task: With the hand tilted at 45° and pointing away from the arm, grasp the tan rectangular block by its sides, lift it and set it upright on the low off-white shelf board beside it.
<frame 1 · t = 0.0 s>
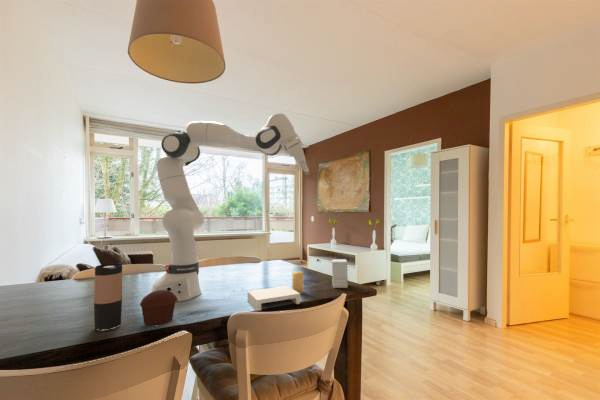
hand: (307, 172, 126), 54 cm above the table, tool tilted 30°, fingers open, 8 cm apart
shelf board: (273, 302, 116), on the table
travel mug: (108, 327, 93), on the table
muffin: (159, 321, 97), on the table
supplement box: (339, 286, 140), on the table
tan rectangular block: (297, 292, 130), on the table
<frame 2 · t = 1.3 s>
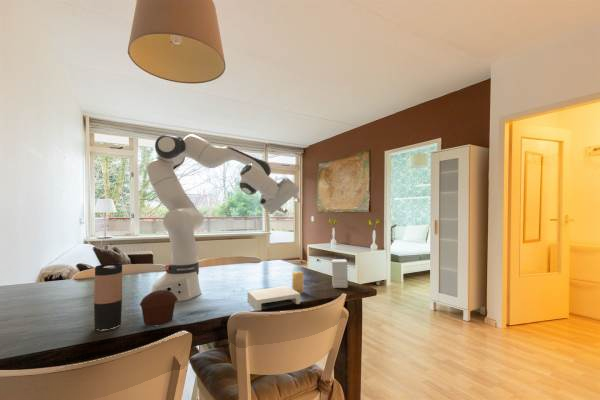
hand: (292, 206, 138), 39 cm above the table, tool tilted 55°, fingers open, 8 cm apart
nothing on the table moved.
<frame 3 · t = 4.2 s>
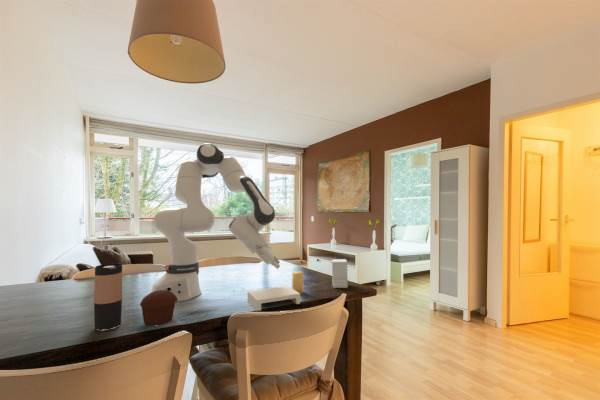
hand: (278, 265, 131), 12 cm above the table, tool tilted 45°, fingers open, 8 cm apart
nothing on the table moved.
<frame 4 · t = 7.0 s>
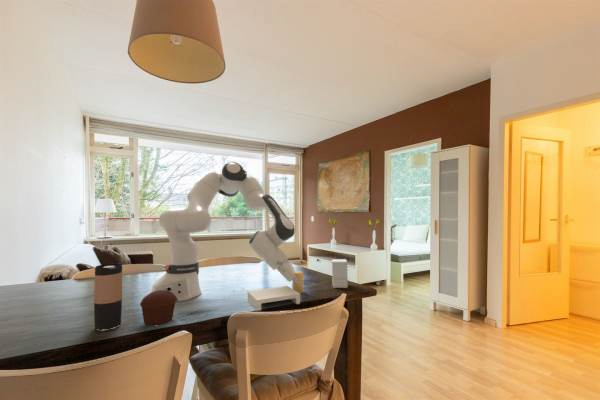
hand: (299, 281, 130), 5 cm above the table, tool tilted 45°, fingers closed on tan rectangular block, 5 cm apart
tan rectangular block: (297, 292, 130), on the table, touching gripper
everything else where it was.
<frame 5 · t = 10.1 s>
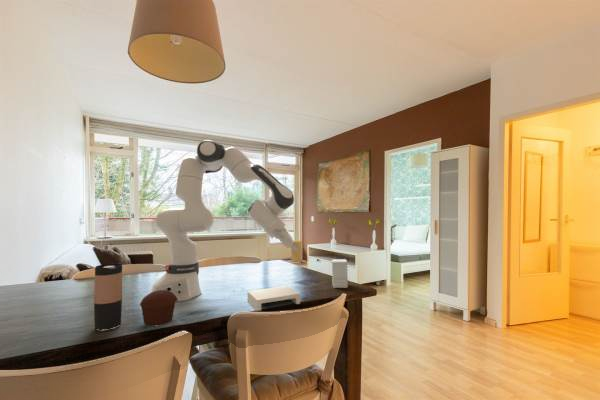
hand: (297, 250, 129), 19 cm above the table, tool tilted 45°, fingers closed on tan rectangular block, 5 cm apart
tan rectangular block: (296, 261, 129), point 14 cm above the table, touching gripper
everything else where it was.
when the fingers open (10 cm above the table, at t = 13.7 s): tan rectangular block drops 1 cm, resting on shelf board.
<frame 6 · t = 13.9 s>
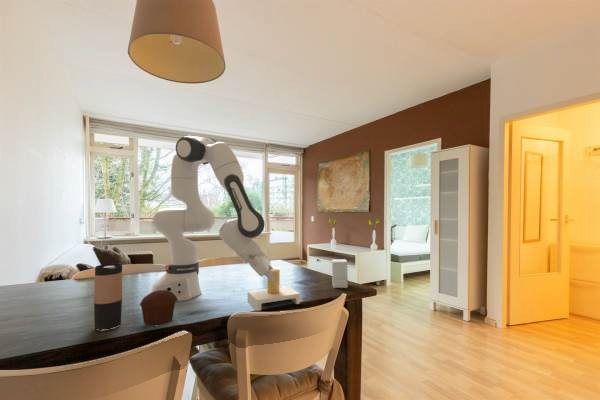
hand: (274, 276, 116), 10 cm above the table, tool tilted 45°, fingers open, 7 cm apart
tan rectangular block: (273, 292, 116), point 4 cm above the table, touching shelf board
everything else where it was.
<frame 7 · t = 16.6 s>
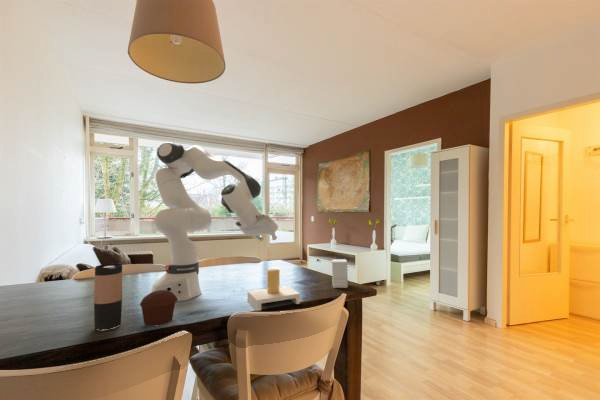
hand: (268, 239, 127), 24 cm above the table, tool tilted 40°, fingers open, 8 cm apart
nothing on the table moved.
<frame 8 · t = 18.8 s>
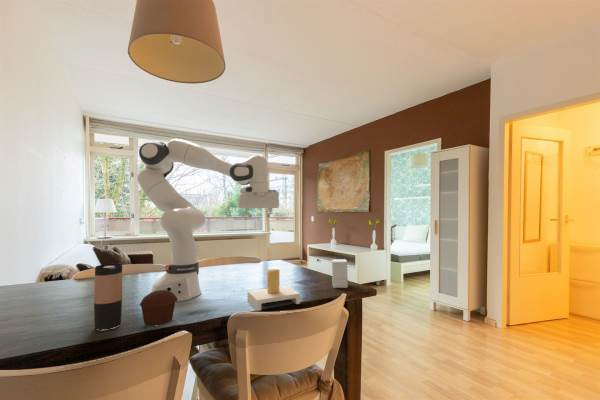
hand: (259, 217, 137), 34 cm above the table, tool pointing down, fingers open, 8 cm apart
nothing on the table moved.
at the end: tan rectangular block inside the target area on the shelf board (0.1 cm from its centre), point 4.0 cm above the shelf board's base; tan rectangular block tilted 0°; the gripper is holding nothing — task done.
